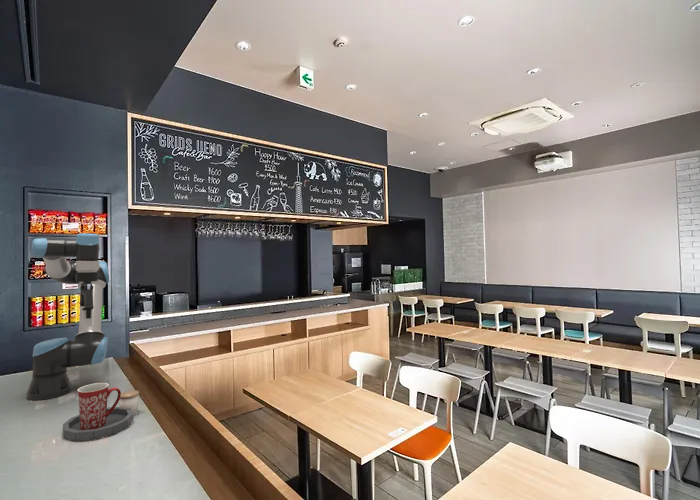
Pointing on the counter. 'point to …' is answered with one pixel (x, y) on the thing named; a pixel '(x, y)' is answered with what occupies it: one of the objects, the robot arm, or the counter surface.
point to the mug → (94, 405)
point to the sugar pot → (129, 400)
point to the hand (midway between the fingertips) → (85, 324)
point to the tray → (113, 425)
